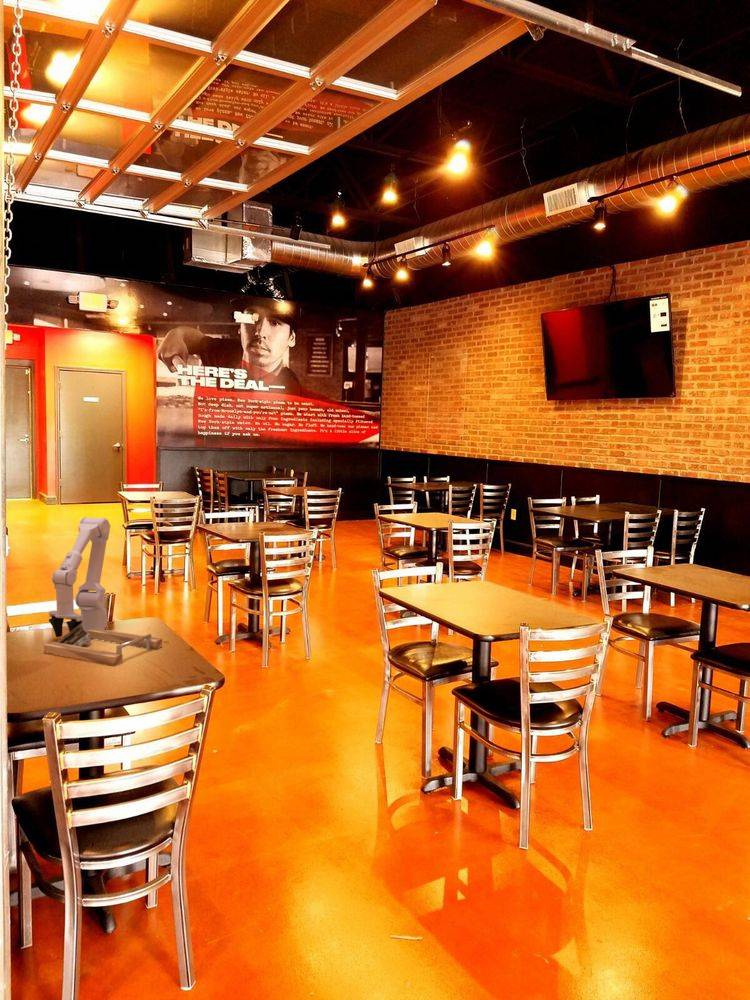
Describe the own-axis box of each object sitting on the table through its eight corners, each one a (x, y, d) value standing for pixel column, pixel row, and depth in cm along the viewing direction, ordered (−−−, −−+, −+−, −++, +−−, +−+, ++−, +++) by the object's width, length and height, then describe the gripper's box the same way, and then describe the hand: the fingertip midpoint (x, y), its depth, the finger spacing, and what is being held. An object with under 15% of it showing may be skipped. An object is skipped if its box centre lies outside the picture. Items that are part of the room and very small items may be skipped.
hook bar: (149, 648, 266) (148, 633, 266) (151, 649, 266) (151, 634, 265) (116, 661, 252) (116, 645, 251) (119, 662, 251) (119, 646, 250)
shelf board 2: (95, 635, 282) (95, 627, 281) (162, 646, 269) (162, 638, 268) (87, 638, 278) (87, 630, 278) (154, 649, 265) (154, 641, 265)
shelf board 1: (52, 649, 264) (52, 641, 263) (122, 662, 250) (122, 654, 250) (43, 653, 260) (43, 644, 260) (113, 666, 247) (113, 657, 247)
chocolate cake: (65, 654, 260) (89, 626, 266) (52, 645, 263) (76, 618, 269) (78, 665, 268) (101, 638, 273) (66, 656, 271) (89, 630, 276)
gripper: (41, 601, 271) (42, 638, 272) (71, 606, 265) (72, 643, 266) (57, 597, 277) (58, 633, 279) (86, 602, 271) (87, 638, 273)
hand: (66, 637), depth 273 cm, fingers open, 7 cm apart
